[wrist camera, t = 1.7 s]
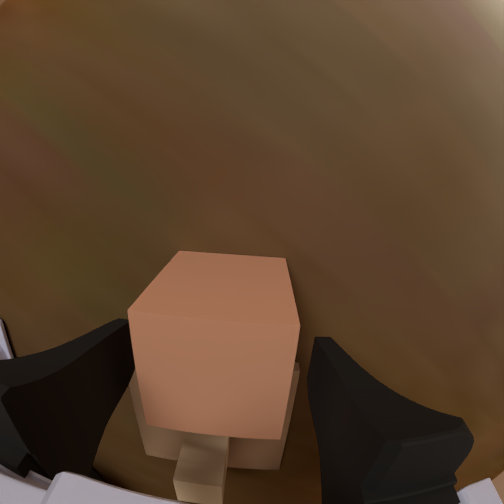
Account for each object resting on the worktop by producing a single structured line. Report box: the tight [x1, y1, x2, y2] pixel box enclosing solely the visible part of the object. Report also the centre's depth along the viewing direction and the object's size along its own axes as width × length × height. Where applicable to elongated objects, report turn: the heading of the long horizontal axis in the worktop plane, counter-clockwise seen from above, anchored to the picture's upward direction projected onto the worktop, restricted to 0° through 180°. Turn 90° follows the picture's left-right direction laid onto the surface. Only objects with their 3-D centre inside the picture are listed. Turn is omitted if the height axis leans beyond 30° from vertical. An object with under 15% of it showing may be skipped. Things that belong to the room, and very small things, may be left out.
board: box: [129, 363, 300, 470], centre depth 18 cm, size 10×10×1 cm
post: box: [173, 432, 229, 504], centre depth 16 cm, size 3×3×5 cm
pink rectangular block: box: [128, 251, 300, 440], centre depth 13 cm, size 5×5×7 cm
